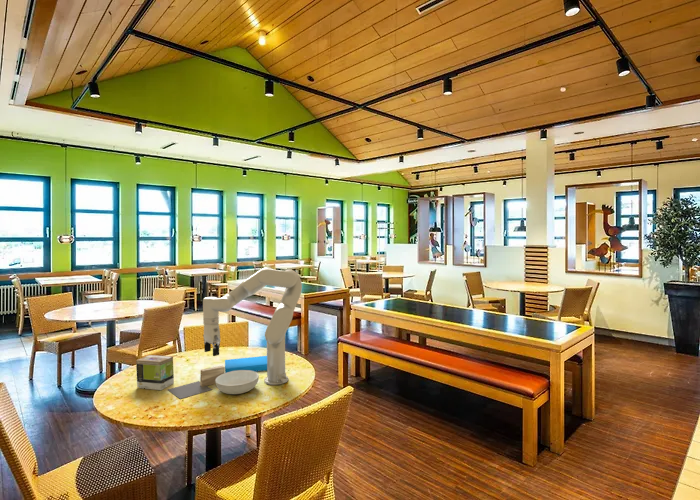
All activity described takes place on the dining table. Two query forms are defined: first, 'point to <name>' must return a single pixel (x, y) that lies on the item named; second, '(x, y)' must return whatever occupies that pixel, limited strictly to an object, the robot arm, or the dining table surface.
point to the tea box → (155, 372)
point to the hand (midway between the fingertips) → (211, 353)
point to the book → (246, 364)
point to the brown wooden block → (210, 375)
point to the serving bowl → (237, 381)
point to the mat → (189, 390)
